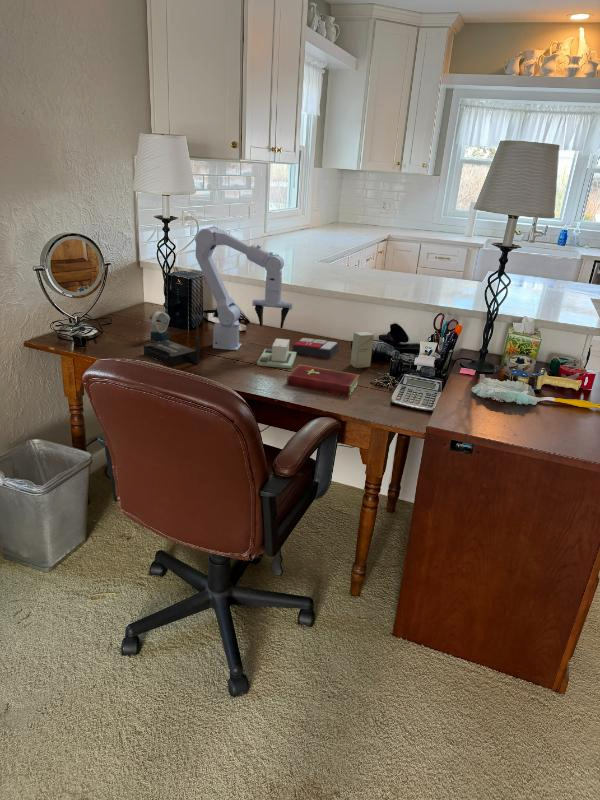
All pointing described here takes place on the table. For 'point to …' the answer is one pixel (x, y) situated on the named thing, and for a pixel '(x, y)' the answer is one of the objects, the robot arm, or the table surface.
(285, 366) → the pcb board
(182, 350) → the grey and black stand
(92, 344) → the table surface
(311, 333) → the table surface
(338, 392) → the hardcover book
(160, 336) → the watch
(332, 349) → the calculator
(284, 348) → the block
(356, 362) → the skincare box
